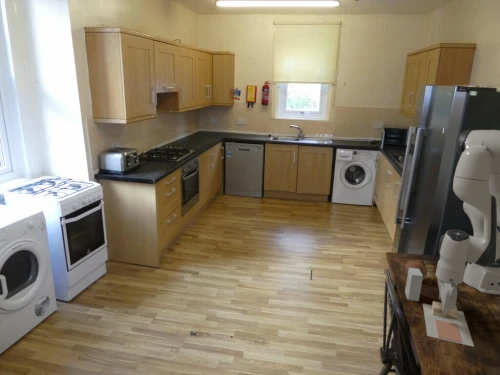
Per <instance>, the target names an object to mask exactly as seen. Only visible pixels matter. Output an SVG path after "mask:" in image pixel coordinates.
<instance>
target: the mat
mask: <svg viewBox="0 0 500 375" xmlns="http://www.w3.org/2000/svg"><path fill="white" fill-rule="evenodd" d="M422 307H423V314H424V316H423V317H424V322H425V330H426V334H427V337H431V338H435V339H439V340H443V341H444V340H445V341H447V342H452V343H456V344H462V345H464V346H468V347H469V346H470V347H475V345H474V341H473V339H472V336H471V332H470V330H469V326H468V323H467V320H466V316H465V314H464V311H461V310H458V317H457V320H456V319H452V318H447V317H442V316H437V315H433V313H432V304H427V303H422Z"/></svg>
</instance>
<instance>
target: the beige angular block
mask: <svg viewBox="0 0 500 375" xmlns="http://www.w3.org/2000/svg"><path fill="white" fill-rule="evenodd" d="M431 305H432V313H433V315H437V316H442V317H447V318H452V319H456V320H457V317H458V311H459V310H458V307H457V305H455V309H454V310H449V311H448V314H447V315H444V314H442V308H443V306H442V302H441V301H440V302H439V301H434V300H433V301H432V304H431Z"/></svg>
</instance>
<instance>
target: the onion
mask: <svg viewBox="0 0 500 375" xmlns="http://www.w3.org/2000/svg"><path fill="white" fill-rule="evenodd" d="M403 266H404V267H403V271H404V273H405V276H406V277H407V276H408V270H409V268H416V269H420V271H421V273H422V275H423V279H422V282H423V281H424V280H425V278H426V277H427V276H428V268H427V265H426V264H425V262H424V261H423V260H421V259H414V260H412V259H411V260H408V261H407V262H406V263H405V264H404V265H403Z"/></svg>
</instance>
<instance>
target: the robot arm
mask: <svg viewBox="0 0 500 375" xmlns="http://www.w3.org/2000/svg"><path fill="white" fill-rule="evenodd" d="M455 149H456V152H457V154H458V155H459V156H460V157H459V159H458V161H457V164H456V168H455V171H454V175H453V181H452V182H453V183H452V190H453V193H454V194H455V195H456V197H458V199H460V201H463V204H462V208H463V211H464V213H465V214H466V215H467V216H468V218H469V220H470V223H471V226H472V229H473V235H469V234H468V233H467V232H466V231H463V230H460V229H449V230H447V231H446V232H445V233H444V234H441V235H440V237H439V241H438V242H439V243H438V247H437V252H438V253H439V259H438V261H437V266H436V271H435V276H436V278H437V279H436V280H437V285H438V291H439V295H438V299H439V301H440V302H441V303H442V306H443V308H442V314H444V315H447V314H448V311H449V310H454V309H455V306H457V305H456V304H457V298H458V289H457V286H458V285H459V284H462V283H464V284H466V285H467V286H470V287H471V288H474V289H476V290H478V291H480V292H481V293H484V294H490V295H499V296H500V231H499V230H498V228H497V227H499V228H500V130H498V129H467V130H463V131H462V132H461V133H459V134H458V136H457V139H456V141H455ZM466 262H467V265H466Z"/></svg>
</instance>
